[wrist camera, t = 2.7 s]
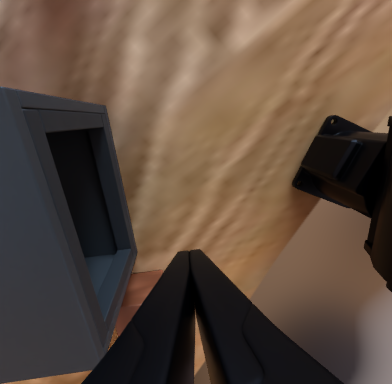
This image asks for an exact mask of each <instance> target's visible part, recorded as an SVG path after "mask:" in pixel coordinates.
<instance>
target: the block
mask: <svg viewBox="0 0 392 384" xmlns="http://www.w3.org/2000/svg"><path fill="white" fill-rule="evenodd" d="M162 274H163V270H157V271H149V272H142V273H134V274H131V276H130V279H129V282H128V285H127V289H126V292H125V295H124V299H123V302H122V305H121V308H120V312H119V315H118V318H117V322H116V325H115V328H116V331H117V334H118V337H119V336H120V334H121V333H122V331H123V330H124V329H125V327H126V326H127V324H128V323H129V321H131V319H132V317H133V316H134V314H135V313H136V312H137V310H138V309H139V307H140V306H141V304H142V303H143V301H144V300H145V299H146V297H147V296H148V294H149V293H150V291H151V290H152V288H153V287H154V286H155V284H156V283H157V281H158V280H159V278H160V277H161V276H162Z"/></svg>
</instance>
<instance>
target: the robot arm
mask: <svg viewBox="0 0 392 384" xmlns="http://www.w3.org/2000/svg"><path fill="white" fill-rule="evenodd" d="M332 119H333V120H334V122H333V124H331V121H332ZM387 126H390V127H389V132H388V133H387V134H386V133H373V132H371V131H368V130H366V129H364V128H362V127H360V126H358V125H356V124H354V123H352V122H350V121H348V120H345V119H343V118H341V117H339V116H337V115H331V116H329V117H327V118H326V120H325V122H324V124H323V125H322V127H321V129H320V131H319V133H318V135H317V136H316V137H315V138H314V140H313V142H312V144H311V146H310V148H309V149H308V151H307V153H306V155H305V157H304V159H303V161H302V163H301V166H300V168H299V170H298V172H297V174H296V176H295V178H294V180H293V182H292V185H293V187H295V188H297V189H299V190H301V191H304V192H307V193H309V194H312V195H314V196H317V197H320V198H322V199H325V200H327V201H330V202H333V203H335V204H338V205H341V206H343V207H346V208H352V209H354V210H356V211H358V212H360V213H362V214H363V215H365V216H367V217H369V218H371V223H370V228H369V234H368V239H367V240H366V241H365V244H364V249H365V250H366V251H367V253H368V254H369V255H370V258H371V261H372V264H373V267H374V268H375V270H376V271H377V272H378V273H379V274H380V275H381V276H382V277H383V279H384V280H385V281H387V284H386V287H387V288H388V289H389V290H390V291H391V292H392V116H390V117H389V120H388V125H387ZM299 181H300V184H299V185H297V183H298V182H299ZM195 310H196V317H197V322H198V327H199V331H200V336H201V341H202V345H203V350H204V354H205V359H206V363H207V368H208V373H209V377H210V382H211V384H344V383H343V382H341V381H340V380H339V379H338V378H337V377H335V376H334V375H333V374H332V373H331V372H329V371H328V370H327V369H326V368H325V367H323V366H322V365H321V364H320V363H319V362H317V361H316V360H315V359H314V358H313V357H311V356H310V355H309V354H308V353H307V352H305V351H304V350H303V349H302V348H300V347H299V346H298V345H297V344H296V343H295V342H293V341H292V340H291V339H290V338H289V337H287V336H286V335H285V334H284V333H283V332H282V331H281V330H280V329H278V328H277V327H276V326H275V325H274V324H273V323H272V322H271V321H270V320H269V319H268V318H267V317H266V316H265V315H264V314H263V313H262V312H261V311H260V310H259V309H258V308H257V307H256V306H255V305H254V304H252V302H251V301H250V300H249V299H248V298H247V297H246V296H245V295H244V294H243V293H242V292H241V291H240V290H239V289H238V288H237V287H236V286H235V285H234V283H233V282H232V281H231V280H230V279H229V278H228V277H227V276H226V275H225V274H224V273H223V272H222V271H221V270H220V269H219V268H218V267H217V266H216V265H215V264H214V263H213V262H212V261H211V260H210V259H209V258H208V257H207V256H206V255H205V254H204V253H203V252H202V251H201V250H200V249H196V250H190V252H189V251H180V252H178V253H177V254H176V255H175V257H174V258H173V260H172V261H171V263H170V264H169V265H168V267H167V268H166V270H165V271H164V273H163V274H162V276H161V277H160V278H159V280H158V281H157V283H156V284H155V286H154V287H153V288H152V290H151V291H150V293H149V294H148V296H147V297H146V299H145V300H144V301H143V303H142V304H141V306H140V307H139V309H138V310H137V312H136V313H135V314H134V316H133V317H132V319H131V321H129V323H128V324H127V326H126V327H125V329H124V330H123V331H122V333H121V334H120V336H119V337H118V338H117V340H116V341H115V342H114V344H113V345H112V346H111V348H110V349H109V350H108V352H107V353H106V354H105V355H104V357H103V358H102V359H101V360H100V362H99V363H98V364H97V365H96V367H95V368H94V369H93V370H92V372H91V373H90V374H89V375H88V376H87V377H86V379H85V380H84V381H83V382H82V383H81V384H194V356H195Z"/></svg>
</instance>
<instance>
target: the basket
mask: <svg viewBox="0 0 392 384" xmlns="http://www.w3.org/2000/svg"><path fill="white" fill-rule="evenodd" d="M136 256H137V248H136V243H135V239H134V234H133V230H132V225H131V220H130V216H129V211H128V206H127V202H126V197H125V193H124V188H123V183H122V179H121V174H120V169H119V165H118V160H117V156H116V151H115V146H114V142H113V137H112V132H111V128H110V123H109V119H108V114H107V109H106V106H105V105H99V104H93V103H88V102H83V101H77V100H72V99H66V98H61V97H55V96H50V95H45V94H39V93H34V92H28V91H23V90H17V89H12V88H6V87H0V384H2V383H9V382H15V381H22V380H29V379H36V378H42V377H49V376H56V375H62V374H69V373H76V372H83V371H89V370H93V369H94V368H95V367H96V365H97V364H98V363H99V362H100V360H101V359H102V358H103V357H104V355H105V354H106V353H107V351H108V348H109V345H110V341H111V338H112V335H113V331H114V328H115V325H116V322H117V318H118V315H119V312H120V308H121V305H122V302H123V299H124V295H125V292H126V289H127V285H128V282H129V279H130V276H131V272H132V269H133V266H134V262H135V259H136Z"/></svg>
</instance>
